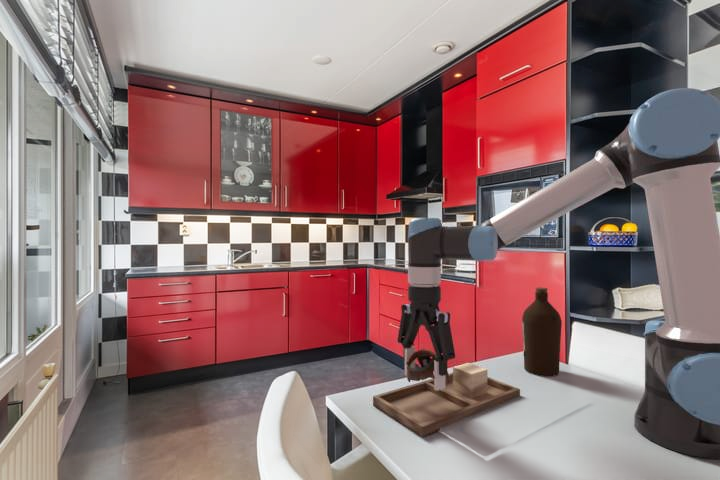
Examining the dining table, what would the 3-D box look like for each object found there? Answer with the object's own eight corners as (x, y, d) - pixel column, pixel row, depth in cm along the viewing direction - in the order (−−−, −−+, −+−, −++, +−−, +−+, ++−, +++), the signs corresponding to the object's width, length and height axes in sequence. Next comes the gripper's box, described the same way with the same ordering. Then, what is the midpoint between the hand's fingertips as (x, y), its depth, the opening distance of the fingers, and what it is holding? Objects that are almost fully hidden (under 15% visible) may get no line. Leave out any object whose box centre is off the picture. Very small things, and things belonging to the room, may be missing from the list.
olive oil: (566, 371, 109) (566, 288, 109) (554, 380, 102) (554, 291, 102) (529, 362, 117) (529, 284, 117) (516, 370, 109) (516, 288, 109)
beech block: (487, 392, 92) (487, 369, 92) (471, 398, 89) (471, 374, 89) (468, 384, 97) (468, 362, 97) (453, 390, 94) (453, 367, 94)
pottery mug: (458, 390, 81) (444, 361, 79) (419, 408, 81) (404, 380, 79) (442, 359, 92) (430, 333, 90) (409, 375, 93) (395, 349, 91)
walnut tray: (519, 397, 91) (520, 389, 91) (422, 437, 73) (422, 426, 73) (465, 376, 105) (465, 368, 105) (373, 405, 87) (373, 396, 87)
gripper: (473, 288, 77) (473, 394, 77) (405, 279, 95) (405, 364, 96) (448, 291, 73) (448, 403, 73) (382, 281, 91) (382, 370, 91)
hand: (424, 381), depth 84 cm, fingers closed on pottery mug, 9 cm apart
